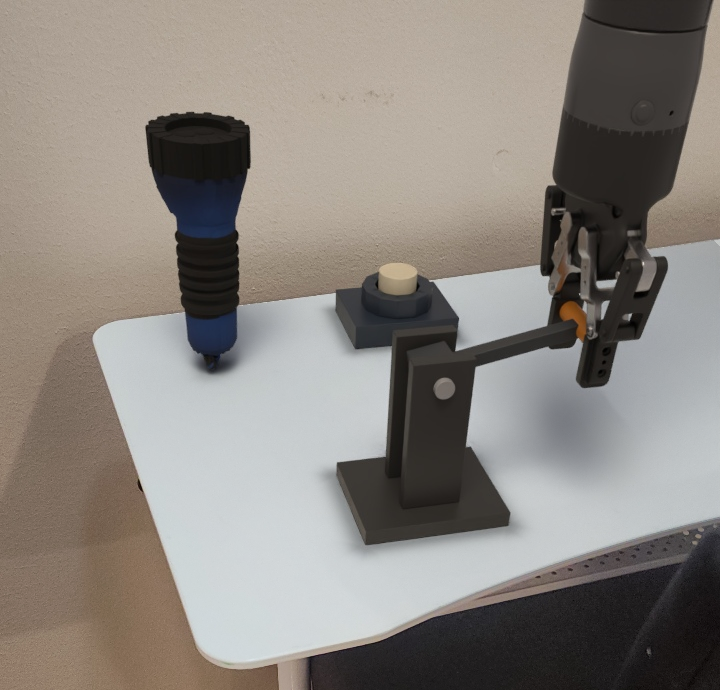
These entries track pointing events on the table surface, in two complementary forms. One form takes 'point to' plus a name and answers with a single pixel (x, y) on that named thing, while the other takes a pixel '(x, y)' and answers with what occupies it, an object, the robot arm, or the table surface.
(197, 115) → the flashlight
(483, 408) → the table surface
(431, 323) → the block
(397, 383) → the lever pivot stand
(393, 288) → the power button
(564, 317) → the lever with orange handle
